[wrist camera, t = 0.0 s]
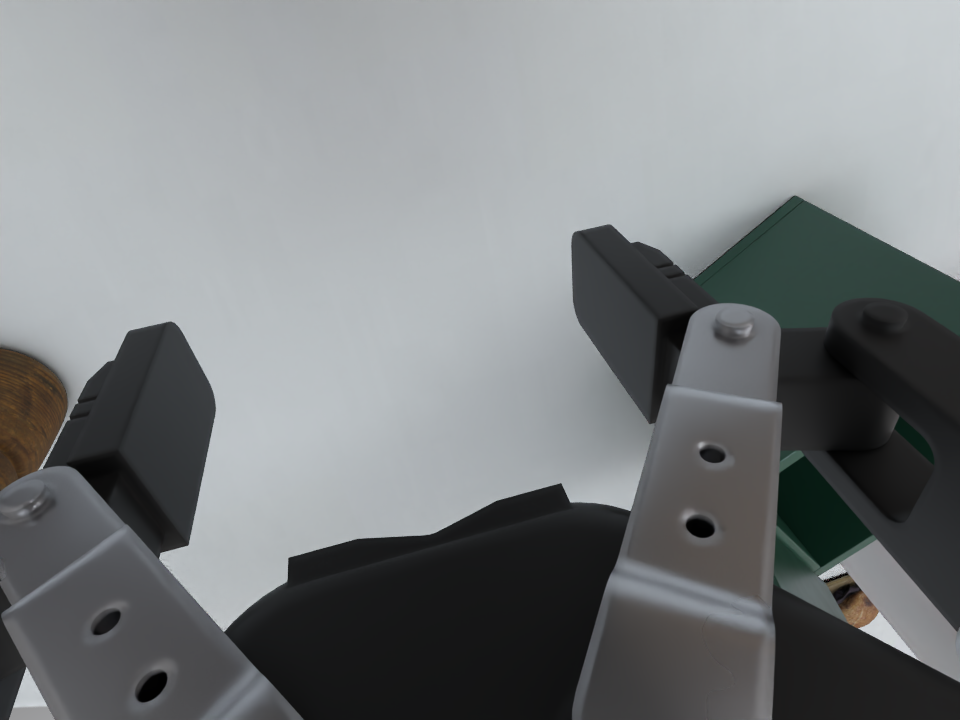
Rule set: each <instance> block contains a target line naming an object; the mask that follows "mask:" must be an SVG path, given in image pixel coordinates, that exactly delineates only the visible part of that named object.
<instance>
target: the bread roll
mask: <svg viewBox="0 0 960 720" xmlns="http://www.w3.org/2000/svg"><path fill="white" fill-rule="evenodd" d="M826 584H827V586H828V588H829V590H830V591H831V593H832V595H833V597H834V599H835V600H836V602H837V604H838V606H839V607H840V609H841V611H842V613H843V614H844V616H845V618H846V620H847V622H848V623H849V624H850V625H852V626H854V627H856V628H860V627H863V626H865V625H867V624H869V623H870V622H871V621H872V620H873V619H874V618H875V617H876V616H877V614H878V612H879V610H878V609H877V608H876V607H875V606H874V604H873V603H872V602H871V601H870V599H869V598H868V597H867V596H866V595H865V593H864V592H863V591H862V590H861V588H860V587H859V586H858V585H857V584H856V582H855V581H854V580H853V579H852V577H851V576H850V575H847V576H843V577H841V578H838V579H836V580H833V581H830V582H827V583H826Z"/></svg>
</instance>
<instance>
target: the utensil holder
mask: <svg viewBox="0 0 960 720" xmlns="http://www.w3.org/2000/svg"><path fill="white" fill-rule="evenodd" d="M67 404H68V402H67V395H66V391H65V389H64V387H63V385H62V383H61V382H60V380H59V379H58V378H57V376H56V375H55V374H54V373H53V372H52V371H51V370H49V369H48V368H47V367H46V366H44V365H43V364H41V363H40V362H38V361H36V360H34V359H32V358H30V357H28V356H26V355H23V354H20V353H18V352H14V351H10V350H6V349H0V491H1V490H3V489H4V488H5V487H7V486H8V485H10V484H11V483H13V482H15V481H16V480H18V479H20V478H22V477H24V476H26V475H28V474H30V473H33V472H36V471H38V469H39V468H40V466H41V464H42V463H43V461H44V459H45V457H46V455H47V453H48V452H49V450H50V448H51V446H52V444H53V442H54V440H55V438H56V436H57V434H58V432H59V430H60V428H61V426H62V423H63V421H64V418H65V415H66V412H67Z"/></svg>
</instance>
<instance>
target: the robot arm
mask: <svg viewBox="0 0 960 720" xmlns="http://www.w3.org/2000/svg"><path fill="white" fill-rule="evenodd" d="M571 247H572V282H573V303H574V308H575V312H576V315H577V318H578V321H579V323H580V325H581V326H582V328H583V329H584V331H585V332H586V334H587V335H588V336H589V338H590V339H591V341H592V342H593V344H594V345H595V346H596V348H597V349H598V351H599V352H600V354H601V355H602V356H603V358H604V359H605V361H606V362H607V364H608V365H609V366H610V368H611V369H612V371H613V372H614V374H615V375H616V376H617V378H618V379H619V381H620V382H621V384H622V385H623V386H624V388H625V389H626V391H627V392H628V394H629V395H630V396H631V398H632V399H633V401H634V402H635V404H636V405H637V406H638V408H639V409H640V411H641V412H642V414H643V415H644V416H645V418H646V419H647V421H648V422H649V424H652V423H656V424H655V428H654V431H653V435H652V438H651V442H650V446H649V449H648V453H647V456H646V460H645V463H644V467H643V471H642V474H641V478H640V481H639V485H638V488H637V492H636V496H635V499H634V503H633V506H632V510H631V511H628V510H625V509H621V508H617V507H614V506H609V505H603V504H597V503H581V502H579V503H570V501H569V499H568V497H567V495H566V493H565V490H564V488H563V486H562V484H561V483H560V484H557V485H553V486H549V487H546V488H542V489H538V490H535V491H531V492H527V493H524V494H520V495H517V496H513V497H509V498H506V499H502V500H498V501H496V502H494V503H492V504H490V505H488V506H486V507H484V508H482V509H480V510H479V511H477V512H475V513H473V514H471V515H469V516H467V517H465V518H463V519H461V520H459V521H458V522H456V523H454V524H452V525H450V526H448V527H446V528H444V529H442V530H440V531H438V532H436V533H434V534H430V535H424V536H404V537H385V538H365V539H356V540H352V541H349V542H345V543H341V544H338V545H334V546H330V547H327V548H323V549H319V550H316V551H312V552H308V553H305V554H301V555H297V556H294V557H290V558H289V559H288V582H286V583H285V584H283V585H281V586H279V587H277V588H276V589H274V590H273V591H271V592H270V593H268V594H267V595H265V596H264V597H262V598H261V599H260V600H258V601H257V602H256V603H254V604H253V605H252V606H251V607H249V608H248V609H247V610H246V611H245V612H244V613H243V614H242V615H240V616H239V617H238V618H237V619H236V620H235V621H234V622H233V623H232V624H231V625H230V626H229V627H228V628H227V630H226V631H225V632H223V631H222V630H221V628H220V627H219V626H218V625H217V624H216V623H215V622H214V621H213V619H212V618H211V617H210V616H209V615H208V614H207V613H206V612H205V611H204V609H203V608H202V607H201V606H200V605H199V604H198V603H197V602H196V600H195V599H194V598H193V597H192V596H191V595H190V594H189V593H188V592H187V590H186V589H185V588H184V587H183V586H182V585H181V584H180V583H179V581H178V580H177V579H176V578H175V577H174V576H173V575H172V574H171V573H170V571H169V570H168V569H167V568H166V567H165V566H164V565H163V564H162V562H161V561H160V560H159V557H160V553H162V552H165V551H169V550H173V549H177V548H180V547H184V546H188V545H189V540H190V535H191V530H192V525H193V520H194V515H195V511H196V506H197V501H198V496H199V491H200V486H201V481H202V476H203V471H204V467H205V462H206V457H207V452H208V447H209V442H210V437H211V432H212V428H213V423H214V418H215V412H216V406H215V399H214V394H213V391H212V388H211V385H210V383H209V381H208V379H207V378H206V376H205V374H204V372H203V370H202V368H201V366H200V365H199V363H198V361H197V359H196V357H195V355H194V353H193V352H192V350H191V348H190V346H189V344H188V342H187V340H186V339H185V337H184V335H183V333H182V331H181V330H180V328H179V327H178V326H177V325H176V324H175V323H173V322H166V323H162V324H157V325H153V326H148V327H144V328H140V329H135V330H131V331H129V332H128V333H127V335H126V337H125V339H124V341H123V343H122V345H121V347H120V349H119V352H118V354H117V356H116V358H115V360H114V361H110V362H107V363H106V364H105V365H104V366H103V367H102V368H101V369H100V370H99V371H98V372H97V373H96V374H95V375H94V376H93V377H91V378H90V379H89V380H88V381H87V383H86V385H85V387H84V389H83V391H82V393H81V395H80V397H79V399H78V404H76V405H75V407H74V409H73V411H72V413H71V415H70V416H69V417H70V420H69V421H67V422H66V424H65V426H64V428H63V430H62V432H61V434H60V436H59V438H58V440H57V442H56V444H55V446H54V448H53V450H52V452H51V454H50V456H49V458H48V460H47V462H46V463H45V465H44V467H43V469H41V470H38V471H36V472H33V473H30V474H28V475H26V476H24V477H22V478H20V479H18V480H16V481H15V482H13V483H11V484H10V485H8V486H7V487H5V488H4V489H3V490H1V491H0V720H9V717H10V714H11V711H12V708H13V705H14V702H15V699H16V696H17V693H18V690H19V687H20V685H21V682H22V679H23V676H24V673H25V670H26V666H27V668H28V670H29V672H30V674H31V676H32V678H33V680H34V681H35V683H36V685H37V687H38V689H39V691H40V693H41V695H42V696H43V698H44V700H45V702H46V704H47V706H48V707H49V710H50V712H51V713H52V715H53V717H54V719H55V720H960V682H958V681H957V680H955V679H953V678H951V677H949V676H947V675H945V674H943V673H941V672H939V671H938V670H936V669H934V668H932V667H930V666H928V665H926V664H924V663H922V662H920V661H919V660H917V659H915V658H913V657H911V656H909V655H907V654H905V653H903V652H901V651H900V650H898V649H896V648H894V647H892V646H890V645H888V644H886V643H884V642H882V641H881V640H879V639H877V638H875V637H873V636H871V635H869V634H867V633H865V632H863V631H862V630H860V629H858V628H856V627H854V626H852V625H850V624H848V623H846V622H844V621H843V620H841V619H839V618H837V617H835V616H833V615H831V614H829V613H827V612H825V611H824V610H822V609H820V608H818V607H816V606H814V605H812V604H810V603H808V602H806V601H805V600H803V599H801V598H799V597H797V596H795V595H793V594H791V593H789V592H787V591H786V590H784V589H782V588H780V587H778V586H776V585H774V584H773V576H774V558H775V539H776V521H777V502H778V484H779V465H780V451H802V453H803V454H804V455H805V456H806V457H807V459H808V460H809V461H810V462H811V463H812V464H813V465H814V467H815V468H816V469H817V470H818V471H819V472H820V474H821V475H822V476H823V477H824V478H825V479H826V481H827V482H828V483H829V484H830V485H831V486H832V488H833V489H834V490H835V491H836V492H837V493H838V494H839V496H840V497H841V498H842V499H843V500H844V501H845V503H846V504H847V505H848V506H849V507H850V508H851V510H852V511H853V512H854V513H855V514H856V515H857V517H858V518H859V519H860V520H861V521H862V522H863V524H864V525H865V526H866V527H867V528H868V529H869V530H870V532H871V533H872V534H873V535H874V536H875V537H876V539H877V540H878V541H879V542H880V543H881V544H882V546H883V547H884V548H885V549H886V550H887V551H888V553H889V554H890V555H891V556H892V557H893V558H894V560H895V561H896V562H897V563H898V564H899V565H900V566H901V568H902V569H903V570H904V571H905V572H906V573H907V575H908V576H909V577H910V578H911V579H912V580H913V582H914V583H915V584H916V585H917V586H918V587H919V589H920V590H921V591H922V592H923V593H924V594H925V595H926V597H927V598H928V599H929V600H930V601H931V602H932V604H933V605H934V606H935V607H936V608H937V609H938V611H939V612H940V613H941V614H942V615H943V616H944V618H945V619H946V620H947V621H948V622H949V623H950V625H951V626H952V627H953V628H954V629H955V630H956V631H957V634H956V641H955V646H956V653H957V656H958V660H959V662H960V337H959V336H958V335H956V334H955V333H953V332H952V331H950V330H949V329H947V328H946V327H944V326H943V325H941V324H940V323H938V322H937V321H935V320H934V319H932V318H931V317H929V316H928V315H926V314H925V313H923V312H922V311H920V310H918V309H916V308H914V307H912V306H910V305H907V304H904V303H901V302H897V301H893V300H888V299H882V298H856V299H851V300H847V301H844V302H842V303H840V304H838V305H837V306H836V307H835V308H834V309H833V312H832V315H831V318H830V321H829V325H828V327H814V328H780V326H779V323H778V322H777V321H776V320H775V319H774V318H773V317H772V316H771V315H769V314H768V313H766V312H764V311H762V310H760V309H757V308H755V307H751V306H747V305H742V304H734V303H721V304H720V303H718V302H717V301H716V300H715V299H714V298H713V297H712V296H711V295H709V294H708V293H707V292H706V291H705V290H704V289H703V288H702V287H700V286H699V285H698V284H697V283H696V282H695V281H694V280H693V279H691V278H690V277H689V276H688V275H685V274H684V271H682V270H681V269H680V268H679V267H678V266H677V265H673V262H672V261H671V260H670V259H669V258H668V257H667V256H666V255H664V254H663V253H662V252H661V251H660V250H658V249H655V248H653V247H650V246H648V245H645V244H643V243H640V242H635V243H630V242H629V241H628V240H627V239H626V238H625V237H624V236H622V235H621V234H620V233H619V232H618V231H617V230H616V229H615V228H614V227H613V226H612V225H604V226H600V227H595V228H591V229H586V230H582V231H577V232H575V233H574V234H573V236H572V245H571ZM899 416H900V417H902V418H903V419H904V420H905V421H906V422H907V423H908V424H910V425H911V426H912V427H913V428H914V429H915V430H916V431H917V432H919V433H920V434H921V435H922V436H923V437H924V438H925V440H926V441H927V442H928V444H929V445H930V447H931V449H932V452H933V455H934V460H935V466H934V465H933V464H932V463H931V462H930V461H928V460H927V459H926V458H925V457H924V456H923V455H922V454H921V453H920V452H919V451H918V450H916V449H915V448H914V447H913V446H912V445H911V444H910V443H909V442H908V441H907V440H906V439H905V438H903V437H902V436H901V435H900V434H899V433H898V432H897V431H896V430H895V429H894V427H895V425H896V423H897V421H898V418H899Z"/></svg>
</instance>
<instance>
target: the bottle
mask: <svg viewBox="0 0 960 720" xmlns="http://www.w3.org/2000/svg"><path fill="white" fill-rule="evenodd" d="M840 564H841V565H842V566H843V568H844V569H845V570H846V571H847V573H848V574H849V575H850V576H851V577H852V579H853V580H854V581H855V582H856V584H857V585H858V586H859V587H860V588H861V590H862V591H863V592H864V593H865V595H866V596H867V597H868V598H869V599H870V601H871V602H872V603H873V604H874V606H875V607H876V608H877V609H878V610H879V612H880V613H881V614H882V615H883V617H884V618H885V619H886V620H887V621H888V623H889V624H890V625H891V626H892V628H893V629H894V630H895V631H896V632H897V634H898V635H899V636H900V637H901V639H902V640H903V641H904V642H905V643H906V645H907V646H908V647H909V648H910V650H911V651H912V652H913V653H914V654H915V656H916V657H917V658H918V659H919V661H920V662H922V663H924V664H926V665H928V666H930V667H932V668H934V669H936V670H938V671H939V672H941V673H943V674H945V675H947V676H949V677H951V678H953V679H955V680H957V681H958V682H960V662H959V660H958V656H957V653H956V646H955V641H956V634H957V631H956V630H955V629H954V628H953V627H952V626H951V625H950V623H949V622H948V621H947V620H946V619H945V618H944V616H943V615H942V614H941V613H940V612H939V611H938V609H937V608H936V607H935V606H934V605H933V604H932V602H931V601H930V600H929V599H928V598H927V597H926V595H925V594H924V593H923V592H922V591H921V590H920V589H919V587H918V586H917V585H916V584H915V583H914V582H913V580H912V579H911V578H910V577H909V576H908V575H907V573H906V572H905V571H904V570H903V569H902V568H901V566H900V565H899V564H898V563H897V562H896V561H895V560H894V558H893V557H892V556H891V555H890V554H889V553H888V551H887V550H886V549H885V548H884V547H883V546H882V544H881V543H880V542H879V541H878V540H875V541H874V542H872V543H871V544H869V545H867V546H866V547H864V548H863V549H861V550H859V551H858V552H856V553H855V554H853V555H851V556H850V557H848V558H847V559H845V560H843V561H842V562H840Z"/></svg>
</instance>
